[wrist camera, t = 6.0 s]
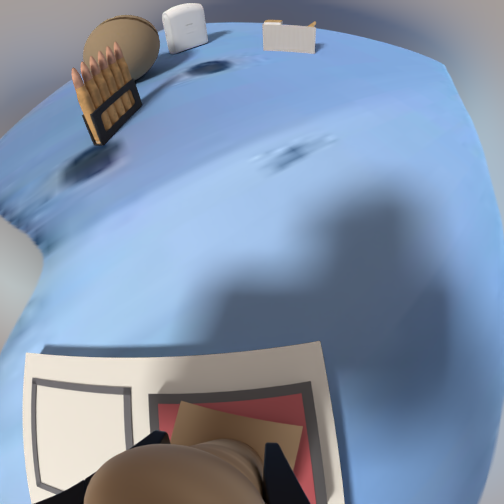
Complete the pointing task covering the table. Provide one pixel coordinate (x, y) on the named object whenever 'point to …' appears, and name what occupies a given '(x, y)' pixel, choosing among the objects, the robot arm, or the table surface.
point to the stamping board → (147, 405)
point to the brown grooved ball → (125, 42)
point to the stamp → (196, 462)
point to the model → (288, 37)
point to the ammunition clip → (106, 94)
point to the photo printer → (184, 27)
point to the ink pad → (263, 408)
